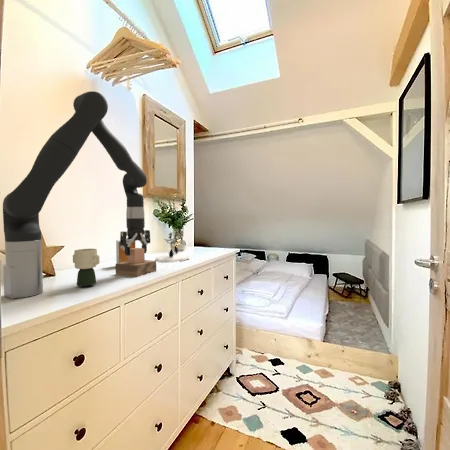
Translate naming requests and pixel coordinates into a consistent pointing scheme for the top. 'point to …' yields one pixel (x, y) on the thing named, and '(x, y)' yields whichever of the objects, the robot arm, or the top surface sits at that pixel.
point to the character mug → (86, 266)
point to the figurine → (172, 254)
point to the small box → (122, 252)
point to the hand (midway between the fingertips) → (136, 254)
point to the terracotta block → (136, 255)
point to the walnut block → (135, 268)
